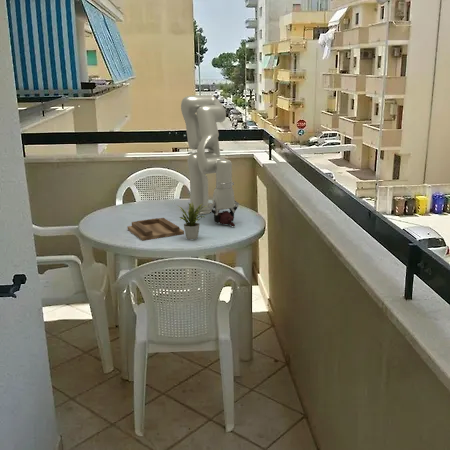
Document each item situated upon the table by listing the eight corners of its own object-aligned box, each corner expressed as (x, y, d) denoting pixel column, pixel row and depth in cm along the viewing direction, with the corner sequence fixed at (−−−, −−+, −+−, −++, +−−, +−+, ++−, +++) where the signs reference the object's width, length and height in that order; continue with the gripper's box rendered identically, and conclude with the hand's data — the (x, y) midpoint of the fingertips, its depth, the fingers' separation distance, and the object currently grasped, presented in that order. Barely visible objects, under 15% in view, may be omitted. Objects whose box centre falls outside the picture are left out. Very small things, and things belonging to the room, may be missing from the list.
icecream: (208, 209, 248) (226, 219, 237) (221, 204, 252) (238, 213, 240) (211, 222, 252) (228, 231, 240) (223, 216, 255) (240, 225, 243)
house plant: (216, 239, 223) (216, 203, 218) (188, 245, 215) (187, 207, 211) (199, 232, 234) (199, 197, 230) (173, 236, 227) (171, 201, 222)
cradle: (167, 223, 248) (166, 216, 247) (184, 234, 231) (183, 226, 230) (127, 229, 238) (127, 222, 237) (142, 240, 222) (141, 233, 221)
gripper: (235, 182, 249) (235, 217, 254) (204, 186, 241) (204, 222, 246) (243, 185, 243) (243, 220, 248) (211, 188, 235) (211, 225, 239)
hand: (224, 221), depth 247 cm, fingers closed on icecream, 7 cm apart
